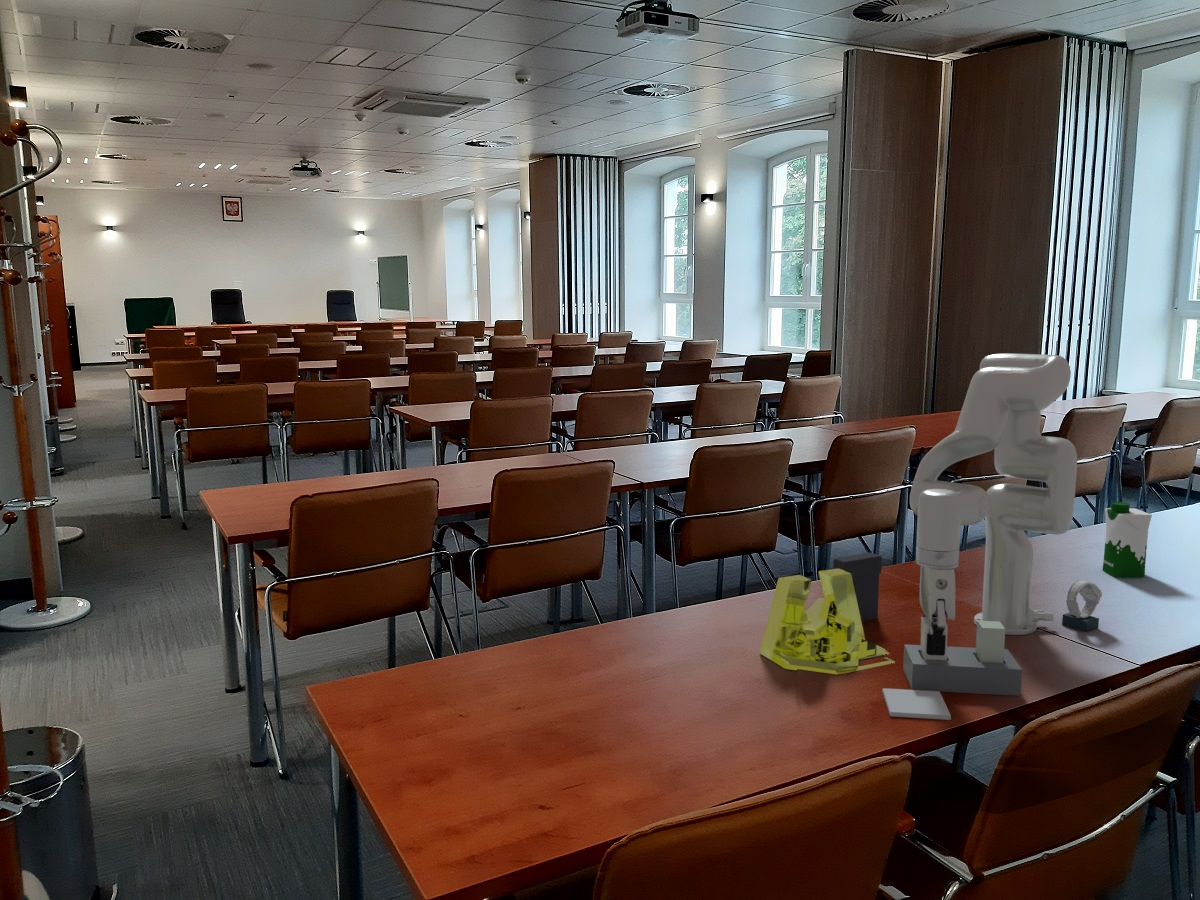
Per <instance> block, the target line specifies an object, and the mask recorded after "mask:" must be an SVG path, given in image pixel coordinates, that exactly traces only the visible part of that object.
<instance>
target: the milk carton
mask: <svg viewBox="0 0 1200 900" xmlns="http://www.w3.org/2000/svg"><path fill="white" fill-rule="evenodd" d="M1130 506H1131V504H1130V503H1128V502H1124V501H1113V502H1111V507H1108V508H1104V515H1105V523H1106V524H1105V526H1106V527H1105V536H1104V537H1105V539H1104V553H1103V563H1102V572H1104V573H1106V574H1107V575H1109V576H1111V577H1113V578H1115V579H1142V578H1145V577H1146V560H1147V559H1146V558H1147V550H1148V549H1147V548H1148V537H1149V535H1148V534H1149V527H1150V524H1151V519H1152V516H1153V515H1152V514H1151V513H1148V512H1145V511H1143V510H1141V509H1138V508H1133V507H1132V508H1130Z"/></svg>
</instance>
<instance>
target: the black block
mask: <svg viewBox="0 0 1200 900" xmlns="http://www.w3.org/2000/svg"><path fill="white" fill-rule="evenodd" d="M882 560H883V557H882V555H879V554H876V553H873V552H865V553H859V554H853V555H846V556H841V557H835V558H833V567H832V569H838V568H839V569H841V570H844V571H846V572H848V573H851V575H852V580H853V585H854V589H855V594H856V599H857V603H858V608H859V613H860V617H861V622H866V621H870V620H875V619H878V618H879V616H878V614H879V595H880V594H879V591H880V588H879V587H880V574H881V573H882V566H883V565H882V564H883V563H882V562H883V561H882ZM874 618H875V619H874Z"/></svg>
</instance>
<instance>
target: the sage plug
mask: <svg viewBox="0 0 1200 900" xmlns="http://www.w3.org/2000/svg"><path fill="white" fill-rule="evenodd" d="M975 635H976V637H975V648H976V653H975V657H976V659H977V660H978V662H986V663H1003V660H1004V649H1005V641H1006V640H1005V639H1006V634H1005V628H1004V626H1003V625H1002V624H1001V623H1000V622H999V621H977V625H976V634H975Z"/></svg>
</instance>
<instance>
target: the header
mask: <svg viewBox="0 0 1200 900" xmlns="http://www.w3.org/2000/svg"><path fill="white" fill-rule="evenodd" d="M920 650H921V644H904V646H903V667H902V669H903V671H904V674H905V677H906V680H907V681H908V684H909V686H910V690H922V691H940V692H943V693H944V692H945V693H947V692H948V693H950V692H951V693H965V694H968V693H969V694H982V695H999V696H1001V695H1003V696H1016V697H1017V696H1019V697H1021V696H1022V682H1023V681H1022V679H1023V668H1022V667H1021V666H1020V664H1019V663H1018V662H1017V660H1016V658H1014V656H1013V654H1012V653H1011V652H1010V651H1009V649H1005V648H1004V660H1003V663H986V662H978V660H977V659H976V657H975V653H976V647H968V646H966V647H965V646H948V645H947V661H946V660H926V659H922V658H921V656H920Z"/></svg>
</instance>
